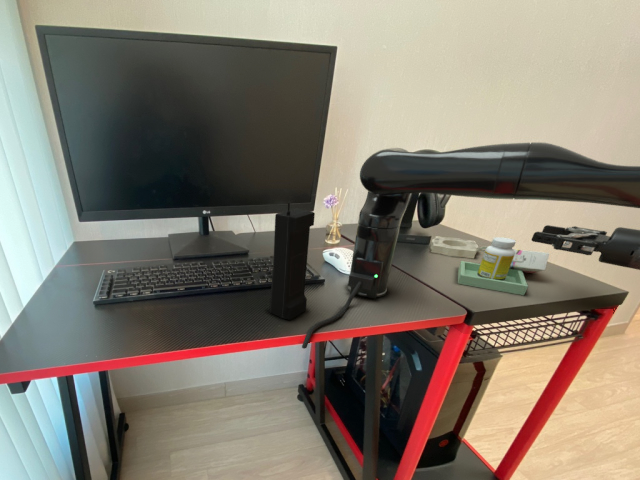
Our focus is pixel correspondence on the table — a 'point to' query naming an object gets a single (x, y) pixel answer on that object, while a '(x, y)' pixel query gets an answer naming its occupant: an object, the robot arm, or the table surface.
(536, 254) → the ink cartridge box
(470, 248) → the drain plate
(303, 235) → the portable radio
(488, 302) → the table surface
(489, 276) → the pill bottle
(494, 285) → the basin tray
